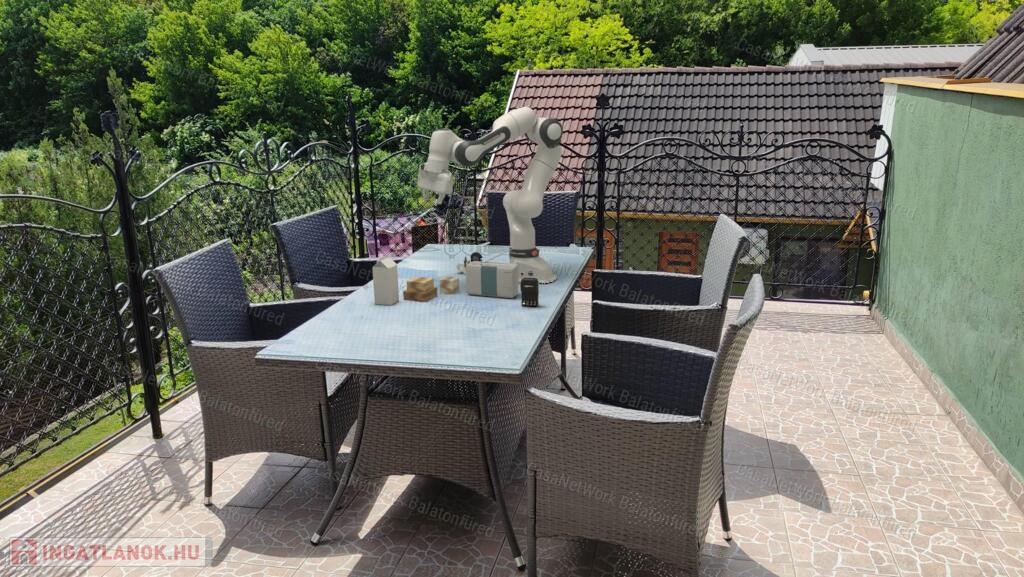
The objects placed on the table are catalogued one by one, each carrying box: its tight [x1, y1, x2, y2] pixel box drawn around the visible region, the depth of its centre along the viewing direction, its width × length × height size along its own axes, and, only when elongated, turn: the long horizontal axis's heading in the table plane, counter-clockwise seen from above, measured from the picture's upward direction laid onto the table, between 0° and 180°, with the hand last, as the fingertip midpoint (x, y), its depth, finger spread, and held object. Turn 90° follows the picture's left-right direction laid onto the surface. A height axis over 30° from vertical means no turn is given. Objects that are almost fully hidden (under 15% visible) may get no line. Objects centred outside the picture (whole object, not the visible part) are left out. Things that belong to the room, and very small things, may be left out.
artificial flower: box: [455, 251, 484, 276], centre depth 328 cm, size 9×22×10 cm, turn 161°
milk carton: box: [372, 253, 400, 306], centre depth 272 cm, size 7×7×19 cm
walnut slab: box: [402, 286, 438, 303], centre depth 280 cm, size 10×10×4 cm
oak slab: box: [406, 276, 435, 293], centre depth 279 cm, size 8×8×4 cm
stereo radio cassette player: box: [465, 248, 519, 299], centre depth 281 cm, size 21×8×20 cm, turn 70°
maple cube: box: [438, 275, 460, 295], centre depth 288 cm, size 6×6×6 cm
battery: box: [519, 277, 540, 307], centre depth 265 cm, size 7×4×11 cm, turn 76°
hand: (432, 202), depth 284 cm, fingers open, 8 cm apart
